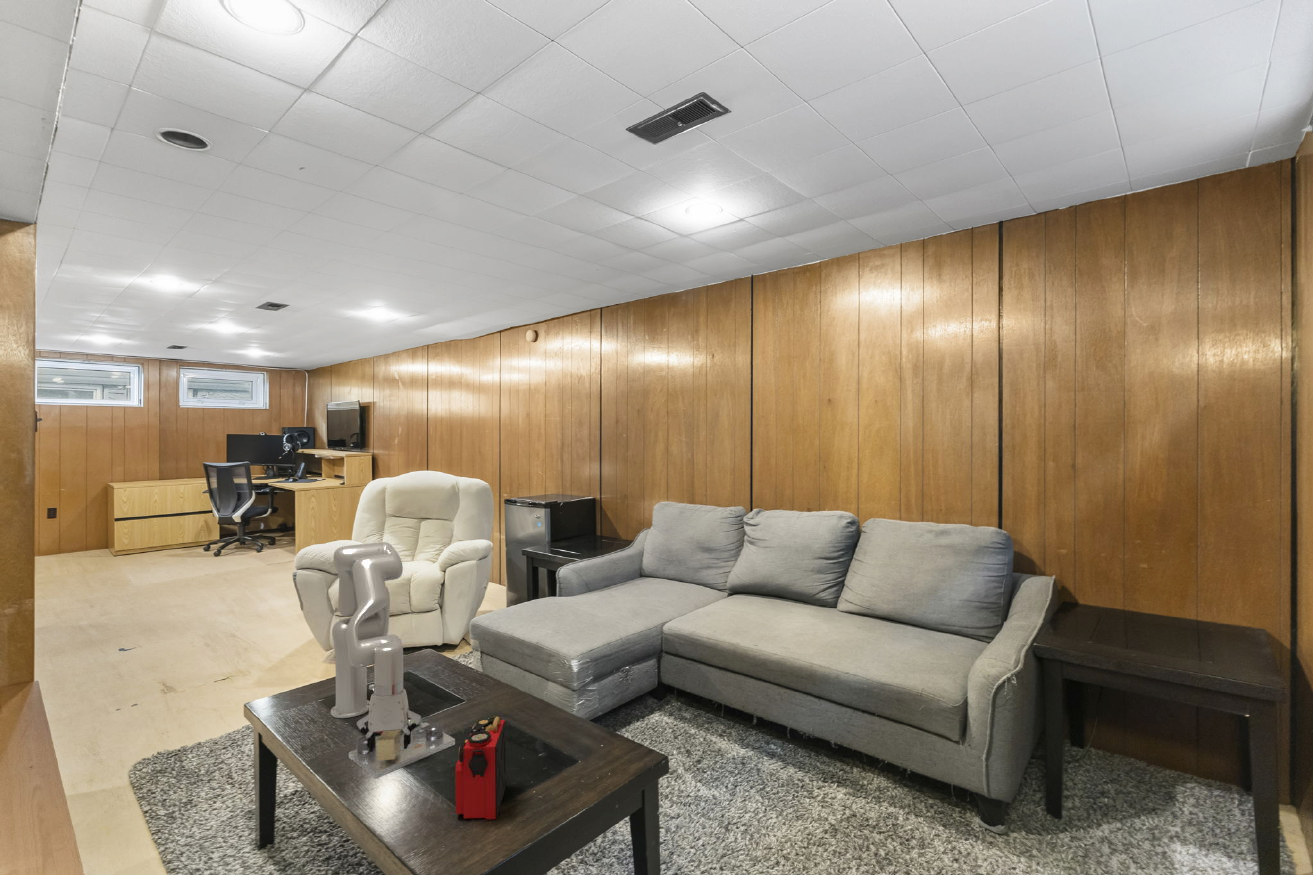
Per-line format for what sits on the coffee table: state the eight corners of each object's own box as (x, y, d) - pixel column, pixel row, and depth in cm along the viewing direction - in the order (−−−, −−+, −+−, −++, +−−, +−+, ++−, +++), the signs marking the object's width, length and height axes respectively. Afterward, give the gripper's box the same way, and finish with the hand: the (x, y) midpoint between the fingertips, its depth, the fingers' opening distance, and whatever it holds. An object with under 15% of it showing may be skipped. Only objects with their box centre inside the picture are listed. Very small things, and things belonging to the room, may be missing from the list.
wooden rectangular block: (394, 762, 169) (394, 739, 169) (377, 764, 169) (377, 740, 169) (403, 744, 180) (403, 721, 180) (387, 745, 179) (387, 723, 179)
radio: (468, 787, 160) (468, 711, 161) (507, 785, 161) (507, 710, 161) (453, 824, 145) (453, 741, 145) (497, 822, 146) (496, 739, 146)
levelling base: (348, 757, 176) (348, 736, 176) (426, 727, 194) (426, 708, 194) (375, 778, 165) (375, 756, 165) (455, 744, 183) (454, 724, 183)
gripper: (352, 695, 167) (352, 757, 167) (418, 690, 170) (418, 752, 170) (360, 684, 175) (361, 744, 175) (423, 680, 178) (424, 739, 178)
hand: (389, 748), depth 173 cm, fingers open, 8 cm apart
